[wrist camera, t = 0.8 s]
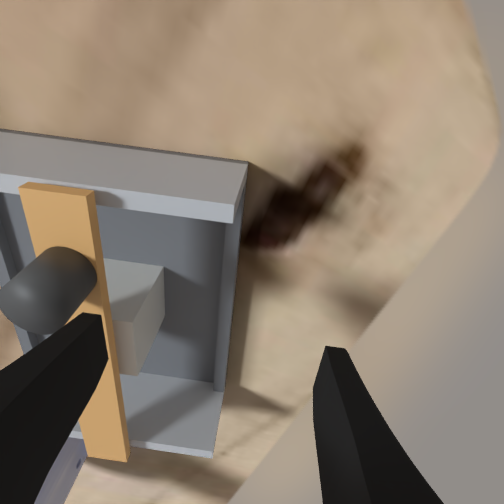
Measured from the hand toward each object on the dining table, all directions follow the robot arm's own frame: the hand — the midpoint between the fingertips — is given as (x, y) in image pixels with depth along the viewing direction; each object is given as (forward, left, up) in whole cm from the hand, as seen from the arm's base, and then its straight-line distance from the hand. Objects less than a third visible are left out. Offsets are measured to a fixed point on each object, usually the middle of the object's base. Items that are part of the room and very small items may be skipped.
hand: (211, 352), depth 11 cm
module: (-6, +7, -9) cm, 13 cm away
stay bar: (-6, +7, -4) cm, 10 cm away
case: (-6, +8, -10) cm, 14 cm away
